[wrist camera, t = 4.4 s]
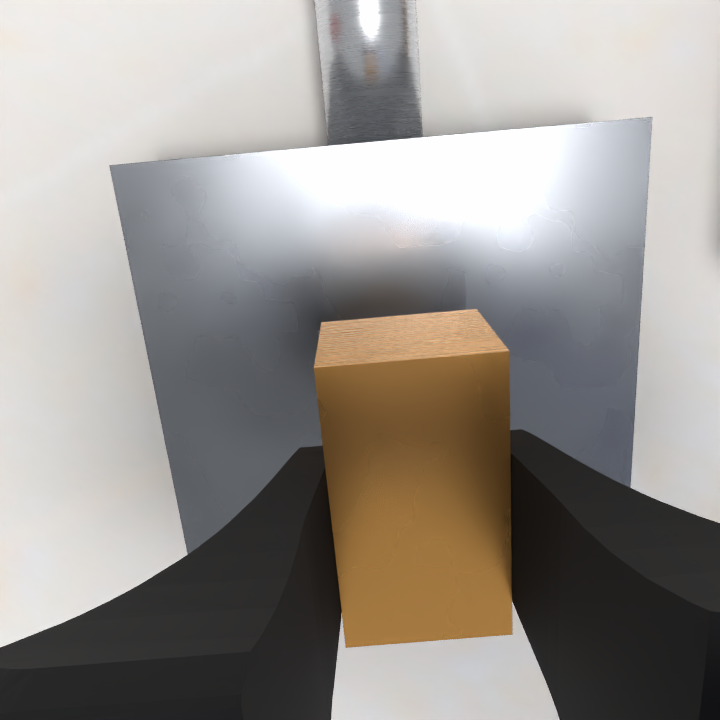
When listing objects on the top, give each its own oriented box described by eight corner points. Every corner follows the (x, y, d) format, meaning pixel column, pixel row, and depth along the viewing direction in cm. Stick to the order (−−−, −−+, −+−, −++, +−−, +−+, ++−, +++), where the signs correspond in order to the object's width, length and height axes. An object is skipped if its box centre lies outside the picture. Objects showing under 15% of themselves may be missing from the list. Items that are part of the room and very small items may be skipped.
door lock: (581, 507, 21) (625, 575, 18) (222, 536, 21) (198, 608, 18) (602, -143, 15) (672, -222, 12) (109, -96, 15) (43, -161, 12)
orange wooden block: (452, 455, 17) (512, 634, 11) (347, 464, 17) (345, 647, 11) (445, 268, 15) (508, 350, 9) (328, 278, 15) (313, 367, 9)
